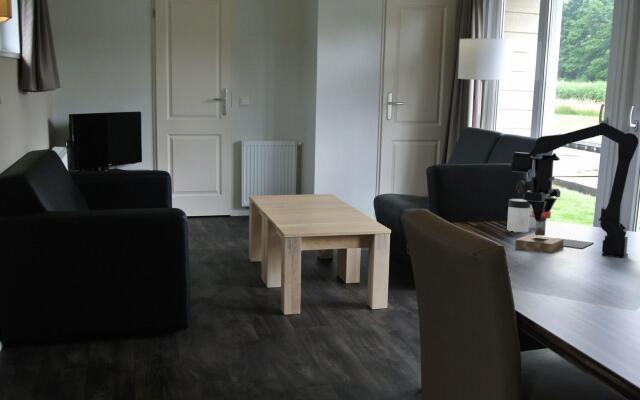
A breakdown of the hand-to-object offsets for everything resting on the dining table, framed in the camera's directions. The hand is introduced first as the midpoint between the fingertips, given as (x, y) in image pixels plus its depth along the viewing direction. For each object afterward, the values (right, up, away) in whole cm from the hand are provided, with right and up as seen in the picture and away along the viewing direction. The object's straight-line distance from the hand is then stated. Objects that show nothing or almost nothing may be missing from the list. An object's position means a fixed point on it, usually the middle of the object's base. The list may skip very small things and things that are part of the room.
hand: (540, 219), depth 232 cm
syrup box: (+11, -5, +44) cm, 46 cm away
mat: (+13, -9, +10) cm, 19 cm away
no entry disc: (0, -5, +1) cm, 5 cm away
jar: (+3, -5, +36) cm, 36 cm away
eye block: (0, -10, +1) cm, 10 cm away
